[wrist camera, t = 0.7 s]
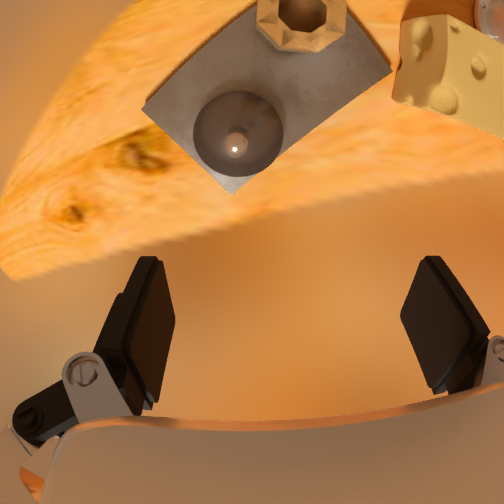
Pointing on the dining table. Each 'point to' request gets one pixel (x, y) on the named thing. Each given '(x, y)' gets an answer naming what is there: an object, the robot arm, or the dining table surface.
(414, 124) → the dining table surface
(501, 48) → the cheese
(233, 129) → the hub
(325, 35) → the collar
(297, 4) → the brown rounded dome
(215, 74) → the plate
